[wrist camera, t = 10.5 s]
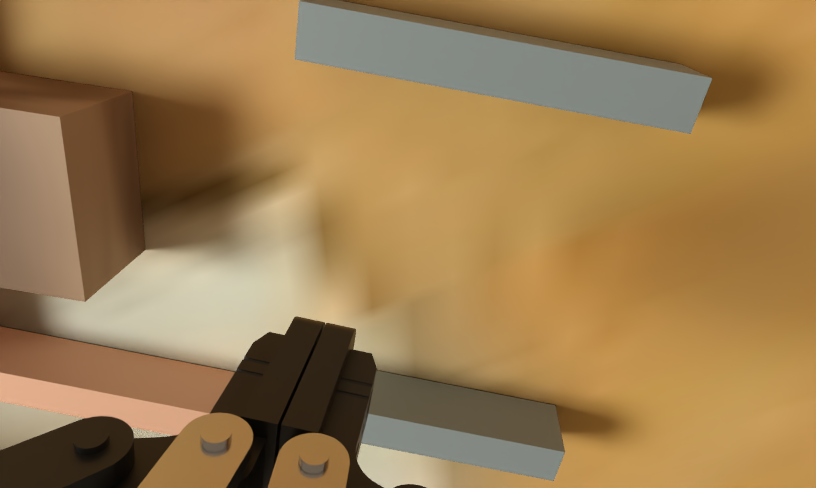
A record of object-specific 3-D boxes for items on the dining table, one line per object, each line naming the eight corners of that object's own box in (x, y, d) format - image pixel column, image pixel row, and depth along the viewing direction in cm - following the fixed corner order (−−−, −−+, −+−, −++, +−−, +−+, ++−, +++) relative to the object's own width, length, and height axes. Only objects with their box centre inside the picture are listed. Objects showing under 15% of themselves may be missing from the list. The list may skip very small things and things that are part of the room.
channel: (680, 64, 17) (712, 78, 15) (545, 432, 24) (553, 480, 22) (321, -4, 17) (299, 0, 15) (286, 382, 24) (267, 424, 22)
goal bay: (275, -68, 17) (245, -74, 14) (249, 402, 25) (227, 445, 22) (-142, -146, 17) (-236, -164, 15) (-34, 347, 25) (-84, 384, 22)
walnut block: (135, 90, 19) (59, 116, 16) (147, 247, 22) (84, 301, 18) (-37, 64, 20) (-151, 84, 16) (-5, 223, 22) (-96, 272, 19)
